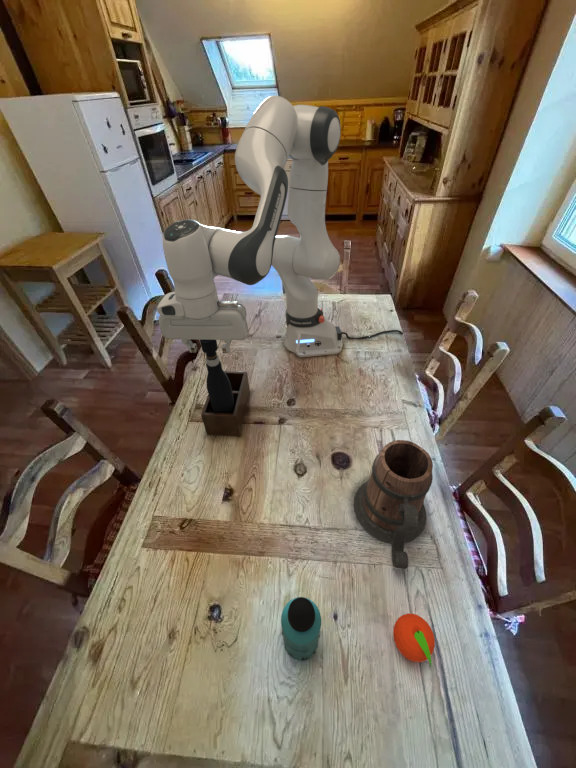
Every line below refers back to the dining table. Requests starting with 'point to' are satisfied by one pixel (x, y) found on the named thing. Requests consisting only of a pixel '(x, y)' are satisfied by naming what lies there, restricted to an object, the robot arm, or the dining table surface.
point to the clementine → (414, 638)
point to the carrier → (224, 421)
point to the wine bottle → (217, 380)
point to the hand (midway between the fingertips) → (210, 351)
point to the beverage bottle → (301, 628)
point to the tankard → (396, 497)
